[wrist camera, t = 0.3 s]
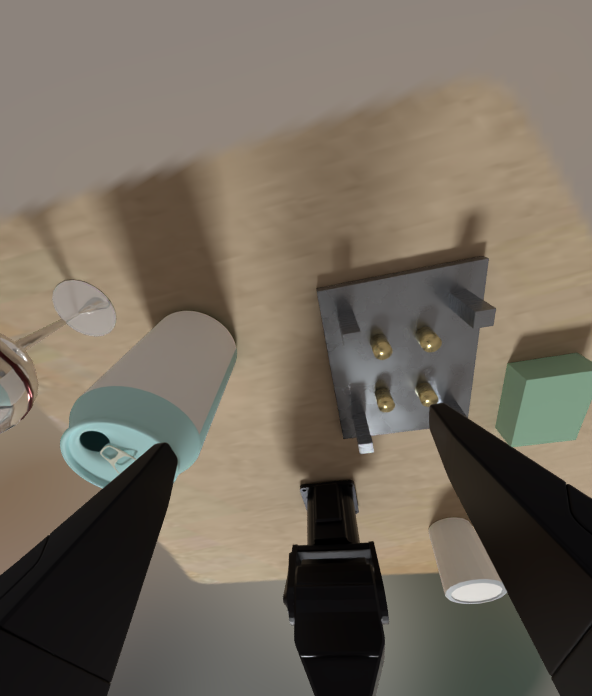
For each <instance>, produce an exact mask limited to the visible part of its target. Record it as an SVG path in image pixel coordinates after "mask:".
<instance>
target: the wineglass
mask: <svg viewBox="0 0 592 696" xmlns="http://www.w3.org/2000/svg"><path fill="white" fill-rule="evenodd" d="M52 300H53V303H54V307H55V310H56V311H57V313H58V315H59V316H60V318H61V319H60V320H58V321H56V322H54V323H52V324H50V325H48V326H46V327H44V328H42V329H40V330H38V331H35V332H33V333H31V334H29V335H27V336H25V337H23V338H21V339H19V340H17V341H13V340H12V339H10V338H8V337H7V336H5V335H3V334H1V333H0V433H2V432H4V431H6V430H8V429H10V428H12V427H13V426H15V425H16V424H17V423H18V422H19V421H20V420H22V419H23V418H24V417H25V416H26V415H27V413H28V412H29V411H30V409H31V408H32V406H33V403H34V401H35V399H36V397H37V395H38V385H39V384H38V379H37V373H36V369H35V366H34V363H33V360H32V359H31V358H30V356H29V355H28V353H27V352H26V350H28V349H29V348H31V347H32V346H34V345H35V344H37V343H38V342H40V341H42V340H43V339H45V338H46V337H48V336H49V335H51V334H52V333H54V332H55V331H57V330H58V329H60V328H61V327H63V326H64V325H66V324H67V325H69V326H70V327H71V328H73V329H74V330H76V331H78V332H80V333H83V334H85V335H90V336H103V335H105V334H107V333H109V332H111V330H112V329H113V328H114V326H115V322H116V315H115V310H114V308H113V306H112V304H111V302H110V301H109V300H108V298H107V297H106V296H105V295H104V294H103V293H102V292H101V291H99V290H98V289H97V288H95V287H94V286H92V285H90V284H88V283H85V282H82V281H77V280H68V281H63V282H62V283H60V284H58V285H57V286H56V288H55V290H54V291H53V299H52Z"/></svg>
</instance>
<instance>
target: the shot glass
mask: <svg viewBox="0 0 592 696" xmlns="http://www.w3.org/2000/svg"><path fill="white" fill-rule="evenodd" d="M429 536H430V540H431V543H432V547H433V551H434V555H435V559H436V562H437V566H438V570H439V574H440V578H441V581H442V584H443V588H444V593H445V596H446V597H447V598H448V599H449V600H451V601H454V602H457V603H464V604H476V603H484V602H489V601H493V600H495V599H498V598H500V597H502V596H503V595H504V594H506V593H507V591H506V589H505V587H504V585H503V583H502V581H501V579H500V577H499V575H498V573H497V571H496V569H495V568H494V566H493V564H492V562H491V560H490V558H489V556H488V554H487V552H486V550H485V548H484V546H483V544H482V542H481V540H480V538H479V537H478V535H477V533H476V532H475V530H474V528H473V527H472V525H471V523H470V522H469V521H468V520H465V519H463V518H456V517H453V518H445V519H442V520H438V521H436V522H435V523H433V524H432V525H431V526H430V527H429Z"/></svg>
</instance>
